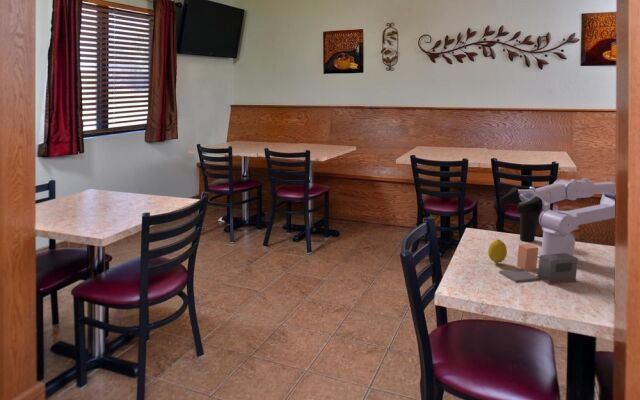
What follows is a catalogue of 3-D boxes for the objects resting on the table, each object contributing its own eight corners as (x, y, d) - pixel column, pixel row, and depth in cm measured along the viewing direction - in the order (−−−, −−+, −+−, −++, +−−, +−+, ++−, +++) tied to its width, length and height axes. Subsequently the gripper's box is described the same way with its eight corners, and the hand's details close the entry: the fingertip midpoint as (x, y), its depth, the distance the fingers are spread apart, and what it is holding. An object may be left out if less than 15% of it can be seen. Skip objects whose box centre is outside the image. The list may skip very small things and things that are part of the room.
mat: (522, 270, 157) (522, 268, 157) (539, 279, 150) (539, 277, 150) (499, 272, 155) (499, 270, 155) (515, 282, 148) (515, 280, 148)
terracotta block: (527, 265, 162) (529, 243, 161) (536, 269, 158) (538, 247, 157) (516, 266, 161) (518, 244, 160) (524, 270, 157) (527, 248, 156)
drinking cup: (512, 237, 192) (517, 184, 188) (531, 236, 193) (537, 184, 188) (521, 243, 185) (526, 189, 180) (542, 242, 185) (547, 188, 181)
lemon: (506, 267, 160) (509, 242, 158) (488, 265, 161) (490, 241, 159) (504, 261, 165) (506, 237, 164) (486, 260, 166) (488, 236, 165)
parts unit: (562, 274, 154) (565, 252, 152) (576, 281, 149) (579, 258, 147) (536, 277, 152) (538, 254, 150) (549, 284, 146) (551, 261, 145)
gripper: (528, 177, 166) (493, 186, 162) (562, 191, 154) (526, 201, 150) (526, 197, 169) (492, 206, 165) (560, 212, 157) (524, 223, 152)
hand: (508, 205), depth 158 cm, fingers open, 7 cm apart
